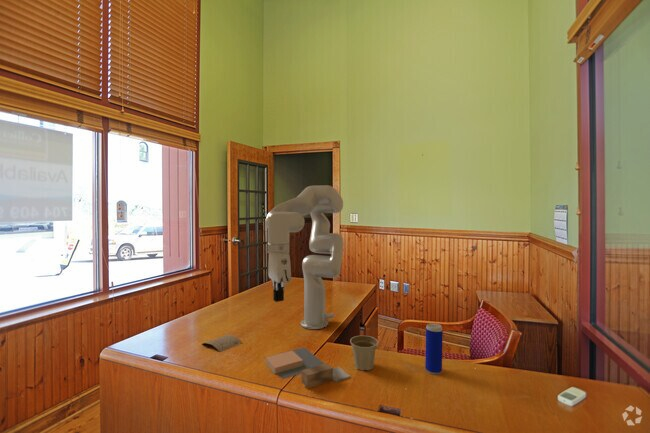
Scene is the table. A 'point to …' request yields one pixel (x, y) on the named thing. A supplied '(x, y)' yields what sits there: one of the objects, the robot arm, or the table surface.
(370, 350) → the flower pot
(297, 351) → the mat
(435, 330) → the beverage can
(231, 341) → the clay tablet
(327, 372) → the brown piece
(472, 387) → the table surface
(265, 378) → the table surface
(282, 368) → the tile
